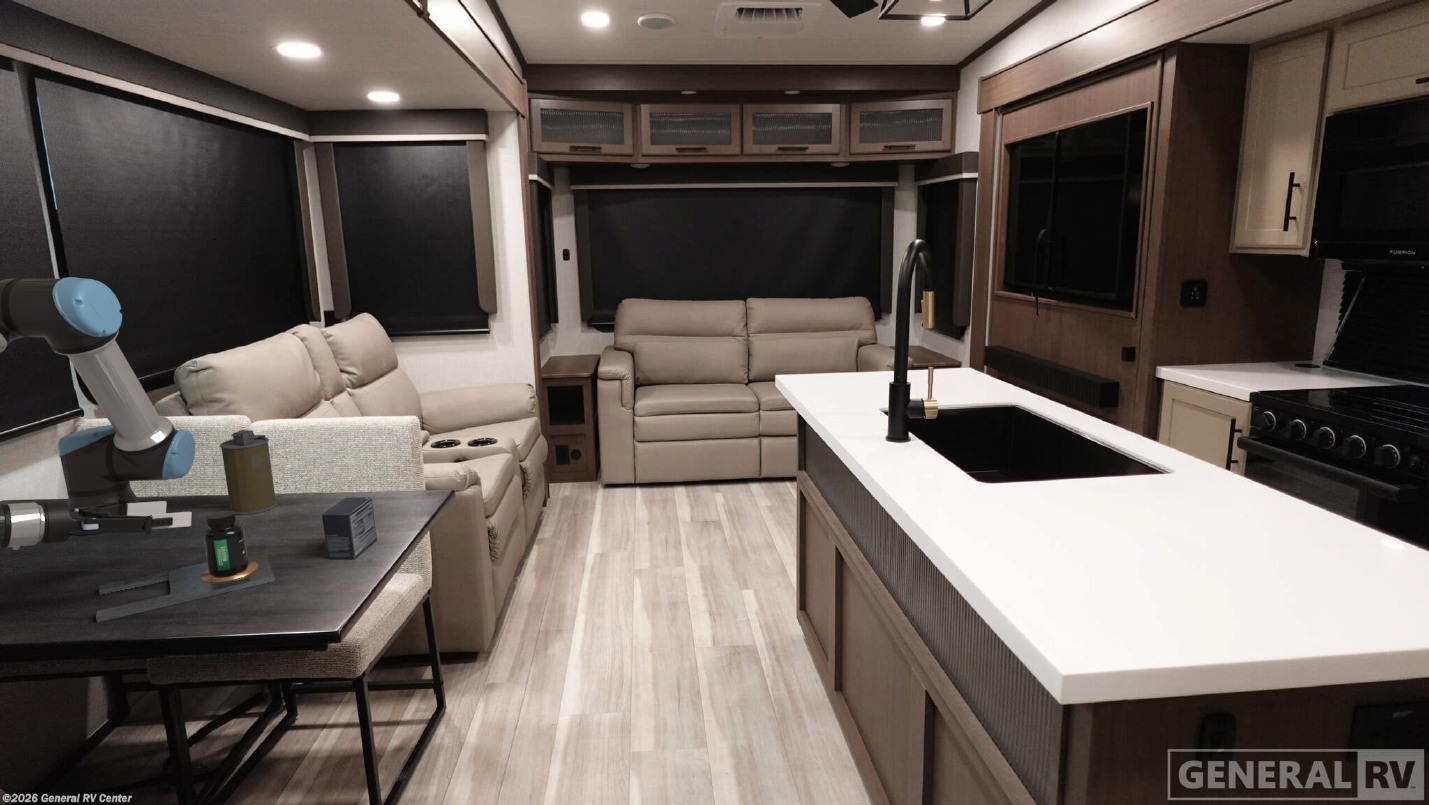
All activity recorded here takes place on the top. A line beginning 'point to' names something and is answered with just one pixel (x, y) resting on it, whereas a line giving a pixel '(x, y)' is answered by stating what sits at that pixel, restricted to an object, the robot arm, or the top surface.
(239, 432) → the canister
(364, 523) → the small box
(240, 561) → the supplement bottle
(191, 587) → the rail plate
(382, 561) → the top surface
